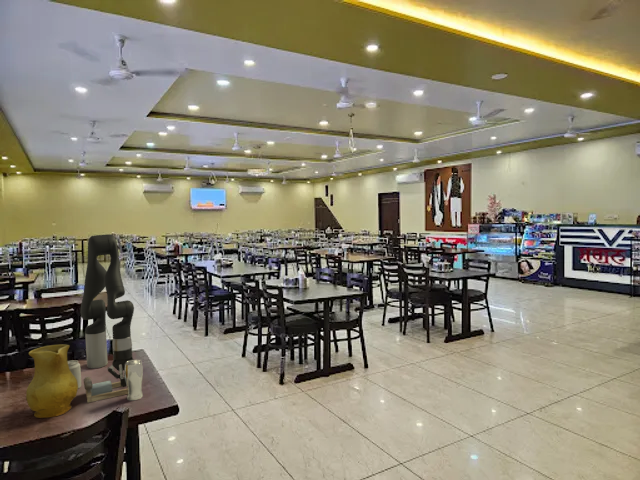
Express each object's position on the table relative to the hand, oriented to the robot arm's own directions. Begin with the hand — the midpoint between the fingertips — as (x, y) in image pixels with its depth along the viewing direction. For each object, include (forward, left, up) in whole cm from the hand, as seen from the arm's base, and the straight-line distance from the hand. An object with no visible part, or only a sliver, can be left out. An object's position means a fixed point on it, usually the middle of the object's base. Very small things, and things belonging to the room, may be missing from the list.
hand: (124, 386), depth 184 cm
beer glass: (+11, +3, -2) cm, 11 cm away
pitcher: (+4, -26, -2) cm, 26 cm away
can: (-14, -19, -2) cm, 24 cm away
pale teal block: (-2, -9, -2) cm, 9 cm away
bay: (0, -6, -2) cm, 7 cm away
